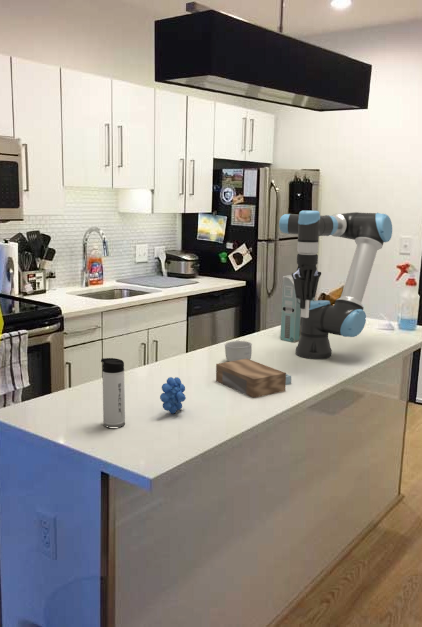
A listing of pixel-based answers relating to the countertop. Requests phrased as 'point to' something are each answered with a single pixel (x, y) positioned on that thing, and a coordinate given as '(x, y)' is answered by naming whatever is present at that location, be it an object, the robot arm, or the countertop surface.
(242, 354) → the teacup
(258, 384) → the shelf
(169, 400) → the grapes
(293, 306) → the device
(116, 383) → the travel mug
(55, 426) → the countertop surface
